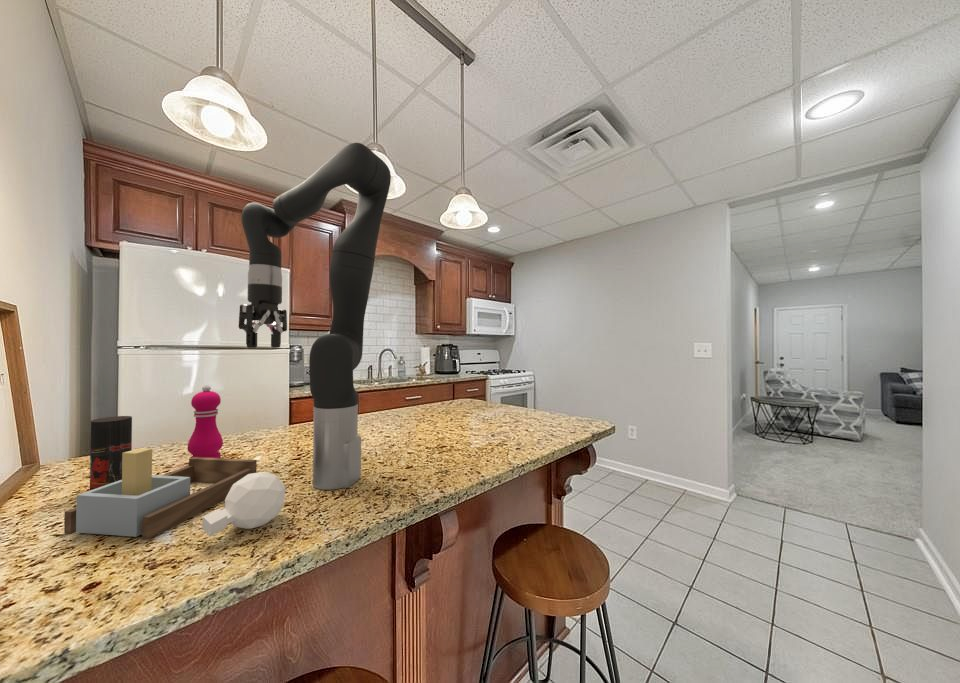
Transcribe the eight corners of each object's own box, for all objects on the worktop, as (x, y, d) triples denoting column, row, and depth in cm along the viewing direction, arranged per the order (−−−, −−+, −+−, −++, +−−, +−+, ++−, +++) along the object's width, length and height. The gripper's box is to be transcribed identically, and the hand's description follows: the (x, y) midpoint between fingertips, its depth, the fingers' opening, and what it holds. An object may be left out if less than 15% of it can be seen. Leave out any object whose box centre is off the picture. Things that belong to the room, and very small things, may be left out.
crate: (189, 509, 64) (190, 444, 64) (136, 536, 55) (137, 461, 55) (136, 506, 65) (137, 442, 65) (75, 532, 56) (77, 458, 56)
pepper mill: (229, 458, 93) (230, 383, 93) (205, 467, 86) (206, 387, 86) (205, 457, 93) (206, 383, 94) (179, 466, 86) (180, 386, 86)
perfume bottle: (264, 495, 66) (190, 534, 55) (268, 454, 64) (192, 486, 53) (294, 519, 63) (221, 564, 52) (299, 476, 60) (224, 514, 50)
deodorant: (137, 487, 74) (138, 417, 74) (99, 498, 68) (100, 423, 68) (121, 483, 76) (121, 415, 76) (82, 494, 70) (83, 420, 70)
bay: (256, 482, 77) (256, 459, 77) (148, 539, 54) (149, 507, 54) (193, 479, 78) (194, 457, 78) (64, 533, 56) (64, 502, 56)
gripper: (258, 279, 81) (257, 348, 81) (296, 289, 95) (295, 347, 95) (229, 279, 82) (228, 347, 82) (270, 289, 96) (270, 347, 96)
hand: (264, 347), depth 89 cm, fingers open, 8 cm apart
